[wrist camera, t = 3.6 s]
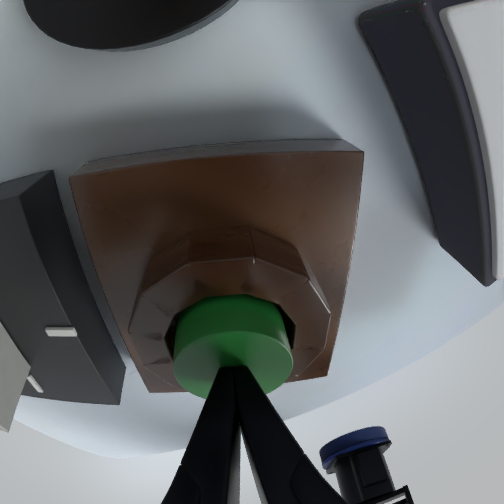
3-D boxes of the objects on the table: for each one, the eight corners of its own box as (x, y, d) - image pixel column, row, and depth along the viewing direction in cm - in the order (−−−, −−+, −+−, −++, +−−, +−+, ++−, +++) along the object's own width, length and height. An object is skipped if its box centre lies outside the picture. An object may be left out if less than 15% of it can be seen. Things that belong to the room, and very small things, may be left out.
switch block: (319, 351, 16) (336, 405, 13) (151, 367, 15) (146, 423, 12) (344, 139, 10) (394, 169, 7) (87, 161, 9) (41, 201, 6)
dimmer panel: (128, 367, 15) (121, 408, 13) (8, 360, 14) (-5, 392, 12) (55, 168, 9) (18, 197, 7) (-71, 208, 9) (-101, 234, 6)
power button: (281, 357, 11) (290, 395, 10) (186, 366, 11) (185, 405, 10) (284, 283, 9) (297, 324, 8) (166, 294, 9) (159, 336, 8)
